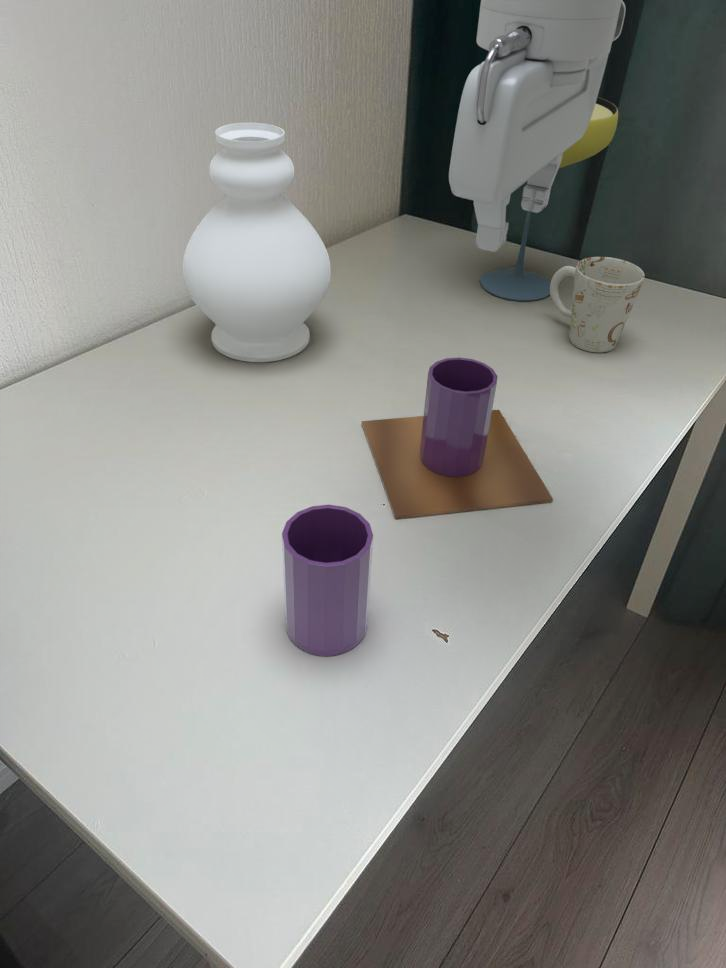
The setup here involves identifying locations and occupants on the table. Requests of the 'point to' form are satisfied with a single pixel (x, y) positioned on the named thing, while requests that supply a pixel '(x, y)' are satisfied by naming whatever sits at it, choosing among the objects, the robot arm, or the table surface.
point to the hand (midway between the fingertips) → (513, 227)
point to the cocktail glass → (518, 280)
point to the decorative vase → (255, 251)
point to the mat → (429, 493)
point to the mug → (598, 300)
